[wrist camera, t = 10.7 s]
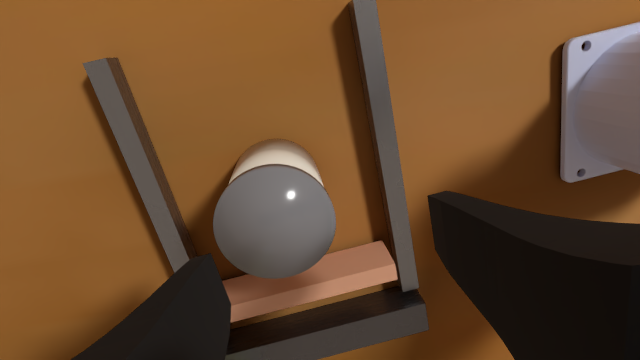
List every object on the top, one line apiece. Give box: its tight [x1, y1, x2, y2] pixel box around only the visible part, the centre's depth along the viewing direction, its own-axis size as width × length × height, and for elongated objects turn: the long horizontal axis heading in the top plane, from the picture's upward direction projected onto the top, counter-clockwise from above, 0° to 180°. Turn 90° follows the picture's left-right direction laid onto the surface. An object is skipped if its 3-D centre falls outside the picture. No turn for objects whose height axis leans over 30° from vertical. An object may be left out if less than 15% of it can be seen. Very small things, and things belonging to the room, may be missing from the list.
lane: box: [83, 0, 429, 360], centre depth 19 cm, size 13×18×2 cm
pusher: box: [222, 240, 398, 322], centre depth 20 cm, size 10×1×2 cm, turn 103°
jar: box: [213, 139, 336, 279], centre depth 17 cm, size 5×5×6 cm
